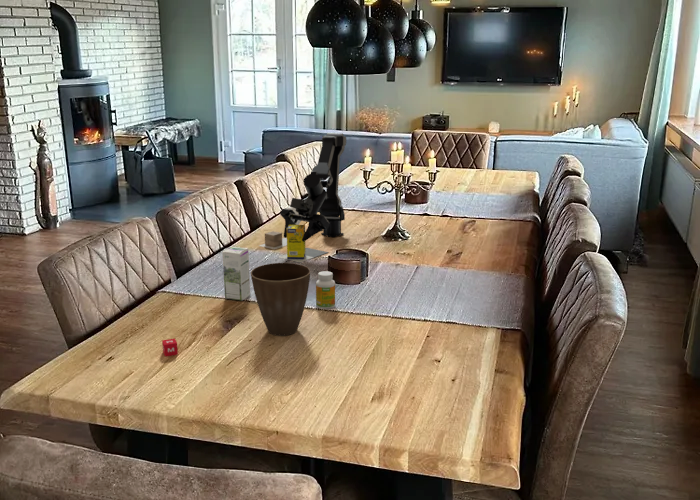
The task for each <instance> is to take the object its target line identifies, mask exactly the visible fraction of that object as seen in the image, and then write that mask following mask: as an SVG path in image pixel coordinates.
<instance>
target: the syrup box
mask: <svg viewBox="0 0 700 500" xmlns="http://www.w3.org/2000/svg"><path fill="white" fill-rule="evenodd" d="M249 252H250V251H249V248H247V247H238V246H237V247H236V246H230V247H227V248H225V249H224V250H223V251H222V266H223V267H222V268H223V286H224V288H223V289H224V298H225V299H227V300H234V301H241V302H242V301H244V300H245V299H247V298H248V297H249V296H251V281H250V257H249V256H250V253H249Z"/></svg>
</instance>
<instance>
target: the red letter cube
mask: <svg viewBox="0 0 700 500" xmlns="http://www.w3.org/2000/svg"><path fill="white" fill-rule="evenodd" d="M161 341H162V352H163V355H164V357H171V356H177V355H179V352H178V351H179V350H178V342H177V340H176V338H170V339H163V340H161Z"/></svg>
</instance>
